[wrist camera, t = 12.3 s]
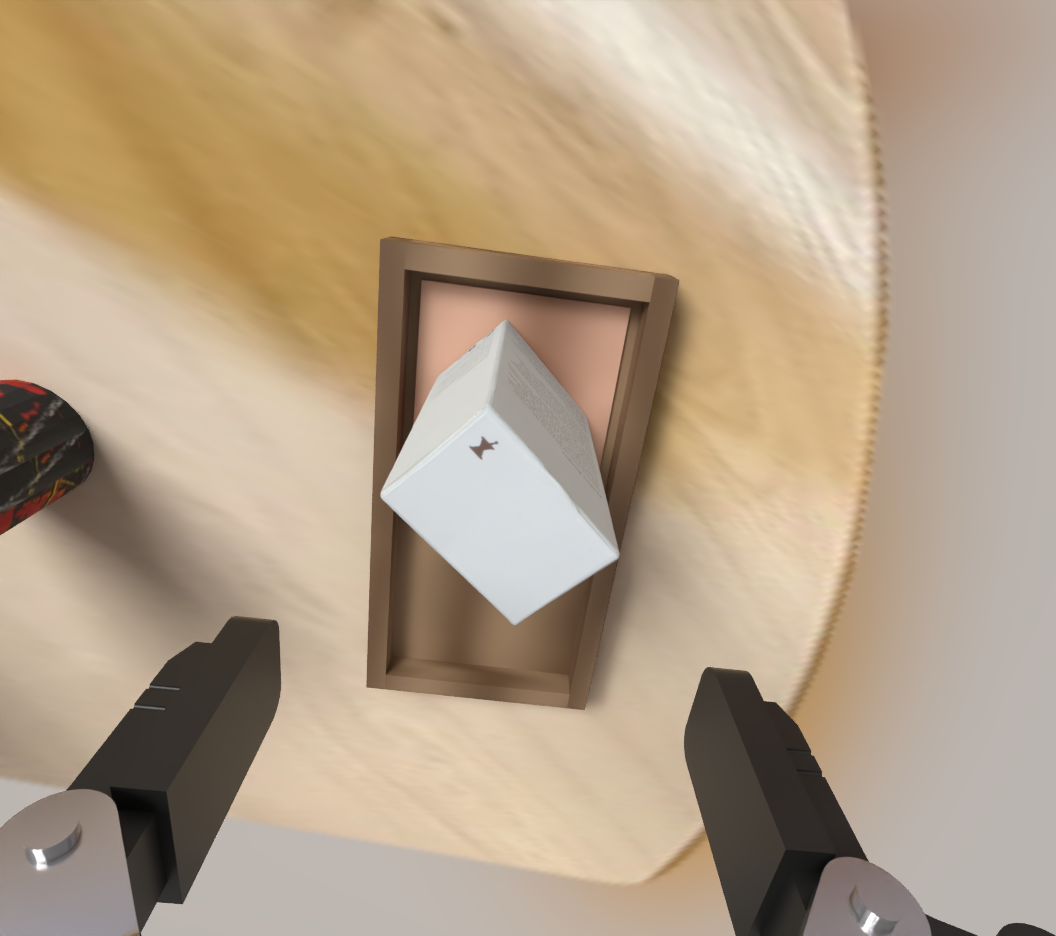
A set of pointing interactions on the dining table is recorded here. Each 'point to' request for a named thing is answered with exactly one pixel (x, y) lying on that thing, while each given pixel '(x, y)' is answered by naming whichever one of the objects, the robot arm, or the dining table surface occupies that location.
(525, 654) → the two-section desk tray
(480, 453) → the skincare box
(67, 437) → the deodorant
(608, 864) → the dining table surface
